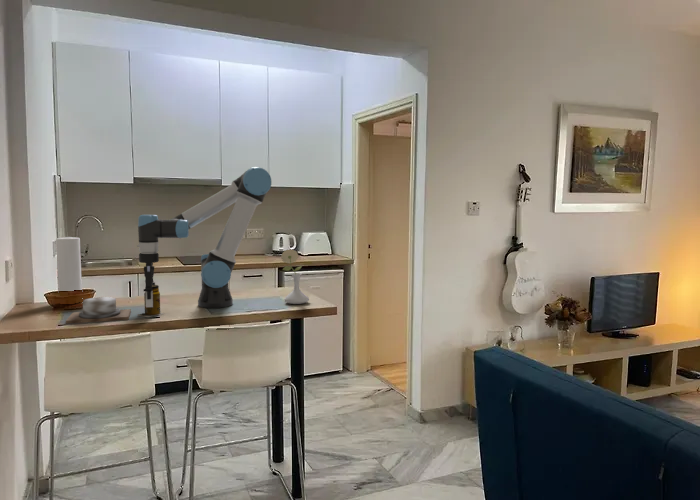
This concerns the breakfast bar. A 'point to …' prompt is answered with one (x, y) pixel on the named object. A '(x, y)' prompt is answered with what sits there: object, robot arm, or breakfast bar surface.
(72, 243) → the cylinder container
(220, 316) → the breakfast bar surface
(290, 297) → the flower in vase
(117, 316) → the duct base
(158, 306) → the condiment
